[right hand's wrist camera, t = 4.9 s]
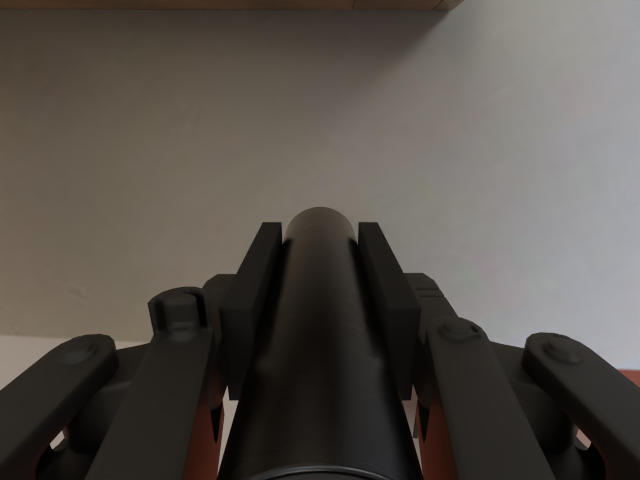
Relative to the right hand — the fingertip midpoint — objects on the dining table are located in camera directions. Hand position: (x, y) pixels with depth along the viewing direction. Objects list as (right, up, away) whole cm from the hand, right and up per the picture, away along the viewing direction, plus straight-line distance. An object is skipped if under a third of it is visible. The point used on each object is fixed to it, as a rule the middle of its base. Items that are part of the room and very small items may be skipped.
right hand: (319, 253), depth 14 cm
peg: (0, +1, +2) cm, 2 cm away
